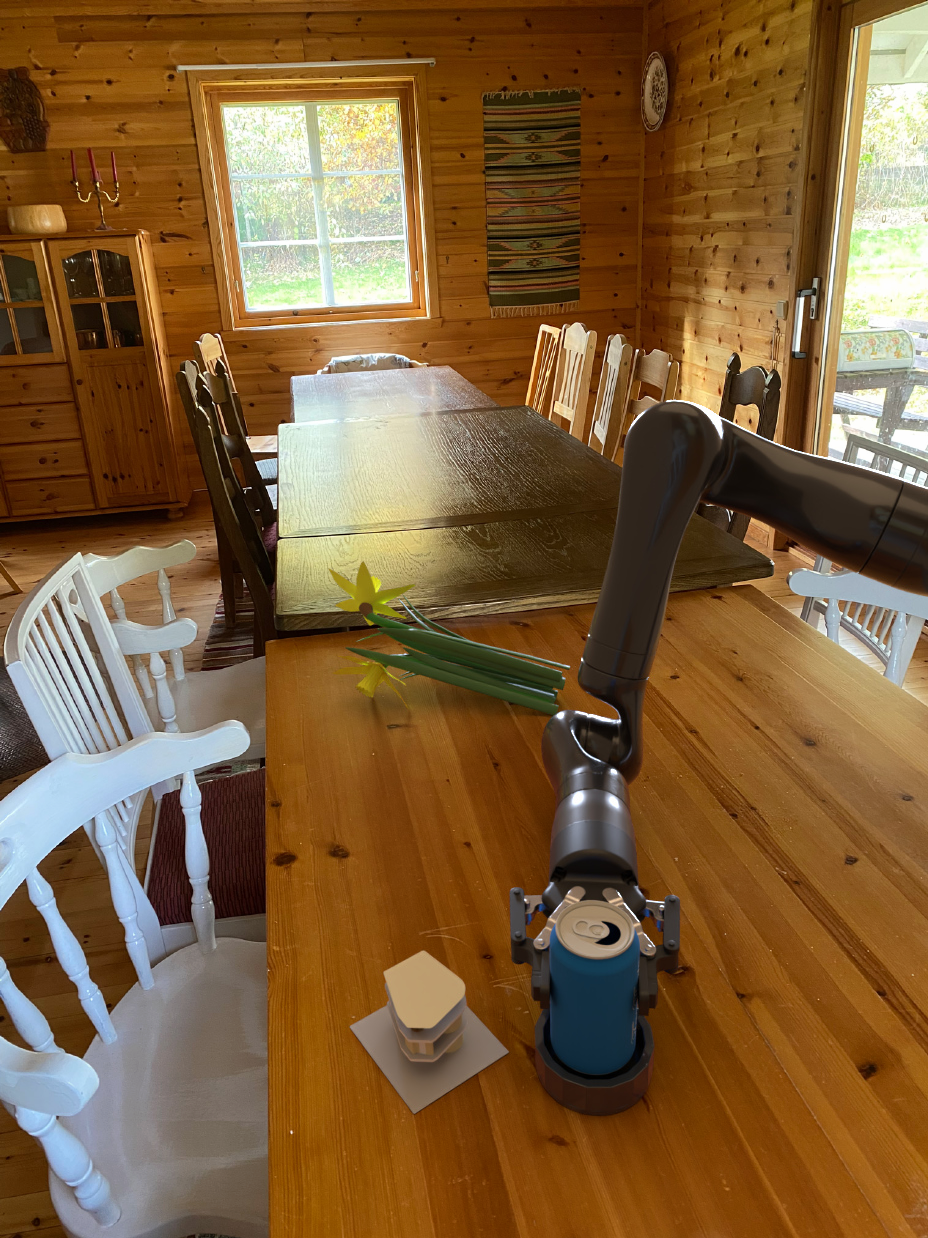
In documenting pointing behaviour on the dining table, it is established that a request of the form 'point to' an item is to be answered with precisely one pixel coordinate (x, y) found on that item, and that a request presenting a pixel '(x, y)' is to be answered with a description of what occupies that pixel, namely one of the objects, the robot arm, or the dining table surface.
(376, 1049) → the stacked layers on plate
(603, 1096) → the bowl
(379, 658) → the daffodil flowers
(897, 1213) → the dining table surface
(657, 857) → the dining table surface
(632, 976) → the beverage can
